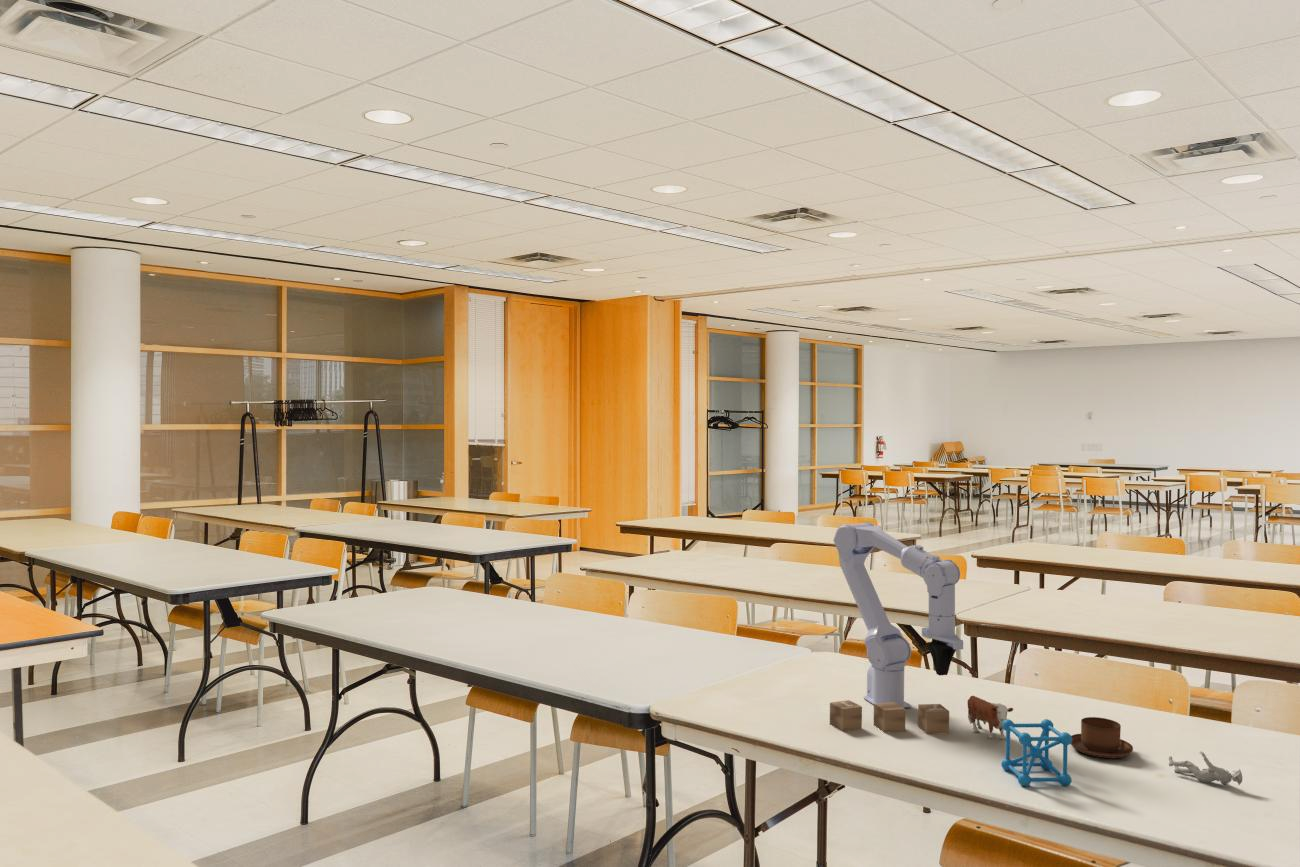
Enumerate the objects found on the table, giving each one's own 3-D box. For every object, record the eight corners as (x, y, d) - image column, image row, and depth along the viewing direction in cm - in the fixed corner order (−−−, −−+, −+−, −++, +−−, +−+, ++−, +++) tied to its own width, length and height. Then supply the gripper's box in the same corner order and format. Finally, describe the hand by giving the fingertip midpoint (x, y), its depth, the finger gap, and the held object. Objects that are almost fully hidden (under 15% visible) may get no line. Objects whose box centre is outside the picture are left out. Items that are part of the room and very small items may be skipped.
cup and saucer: (1077, 738, 204) (1078, 709, 204) (1139, 751, 196) (1139, 721, 196) (1061, 753, 195) (1061, 723, 195) (1124, 767, 187) (1125, 736, 187)
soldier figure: (1182, 773, 187) (1250, 770, 179) (1182, 795, 184) (1251, 793, 176) (1164, 750, 184) (1231, 746, 176) (1164, 773, 181) (1232, 769, 173)
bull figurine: (1000, 747, 198) (1000, 708, 198) (962, 726, 211) (963, 690, 211) (1018, 745, 199) (1018, 706, 199) (979, 725, 212) (980, 688, 212)
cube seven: (917, 726, 211) (918, 703, 211) (939, 726, 211) (940, 703, 211) (926, 734, 206) (926, 711, 206) (948, 733, 206) (949, 710, 206)
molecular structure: (1049, 768, 186) (1050, 717, 186) (1073, 788, 176) (1074, 734, 176) (999, 768, 186) (1000, 717, 186) (1020, 788, 176) (1021, 734, 176)
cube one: (829, 724, 211) (829, 702, 211) (848, 722, 213) (848, 699, 213) (842, 731, 207) (842, 708, 207) (861, 729, 209) (862, 706, 209)
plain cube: (873, 725, 211) (873, 703, 211) (894, 724, 212) (894, 702, 212) (884, 733, 206) (884, 710, 206) (905, 731, 207) (905, 708, 207)
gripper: (909, 609, 221) (910, 667, 221) (942, 621, 207) (942, 683, 207) (937, 607, 222) (937, 665, 223) (971, 620, 208) (971, 681, 208)
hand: (941, 674), depth 215 cm, fingers closed
